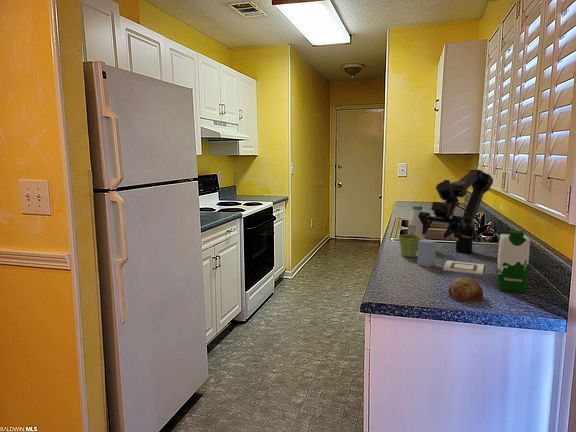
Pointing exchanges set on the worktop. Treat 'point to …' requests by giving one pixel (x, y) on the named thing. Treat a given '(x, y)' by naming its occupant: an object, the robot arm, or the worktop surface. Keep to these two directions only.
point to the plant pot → (409, 245)
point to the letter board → (464, 267)
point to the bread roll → (465, 290)
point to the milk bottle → (415, 223)
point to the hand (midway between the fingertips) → (433, 236)
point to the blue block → (426, 252)
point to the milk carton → (513, 262)
